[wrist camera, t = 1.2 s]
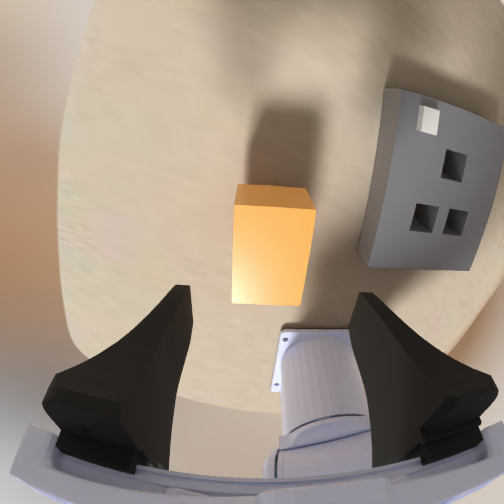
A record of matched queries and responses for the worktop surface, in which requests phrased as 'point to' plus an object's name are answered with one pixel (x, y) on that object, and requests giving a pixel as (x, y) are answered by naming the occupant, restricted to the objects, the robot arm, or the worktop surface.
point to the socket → (430, 184)
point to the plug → (271, 244)
